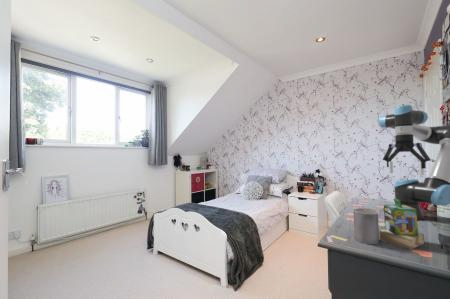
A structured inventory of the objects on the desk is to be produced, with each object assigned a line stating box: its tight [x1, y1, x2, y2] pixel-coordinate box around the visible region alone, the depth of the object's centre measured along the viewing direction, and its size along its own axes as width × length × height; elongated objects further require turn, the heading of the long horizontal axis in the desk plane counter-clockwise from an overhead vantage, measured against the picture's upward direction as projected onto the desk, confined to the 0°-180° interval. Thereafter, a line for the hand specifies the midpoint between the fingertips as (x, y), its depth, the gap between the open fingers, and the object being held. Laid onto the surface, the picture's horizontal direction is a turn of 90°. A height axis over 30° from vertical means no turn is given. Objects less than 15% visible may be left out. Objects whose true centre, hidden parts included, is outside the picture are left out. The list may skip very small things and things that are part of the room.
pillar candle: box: [353, 207, 380, 245], centre depth 101 cm, size 10×10×15 cm
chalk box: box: [383, 198, 419, 235], centre depth 100 cm, size 9×9×15 cm
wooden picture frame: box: [379, 228, 425, 250], centre depth 99 cm, size 12×12×4 cm
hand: (405, 174), depth 117 cm, fingers open, 13 cm apart
